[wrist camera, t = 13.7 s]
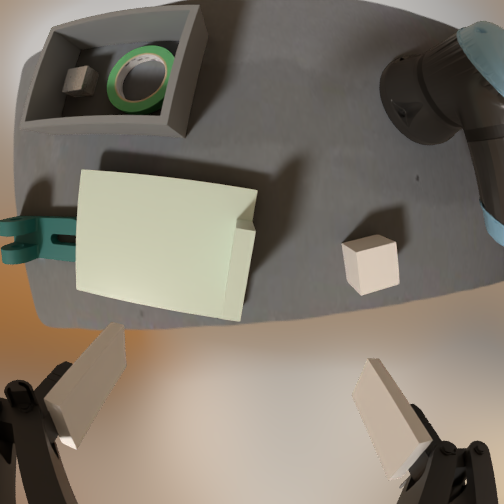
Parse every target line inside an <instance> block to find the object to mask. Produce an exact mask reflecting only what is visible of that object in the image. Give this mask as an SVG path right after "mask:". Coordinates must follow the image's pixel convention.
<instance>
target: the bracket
mask: <svg viewBox="0 0 504 504" xmlns="http://www.w3.org/2000/svg"><path fill="white" fill-rule="evenodd" d="M76 226H77V217H55V216H17V217H12V218H7V219H3V220H0V236H7V237H8V236H14V242H13V243H10V244H7V245H5V246H3V247H1V253H2V261H3V263H5V264H21V263H26V262H29V261H31V260H34V259H36V258H46V259H54V260H62V261H70V262H76V243H69V242H60V241H59V240H58V238H57V235H58V234H63V235H75V236H76Z"/></svg>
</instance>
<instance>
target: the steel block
mask: <svg viewBox="0 0 504 504" xmlns="http://www.w3.org/2000/svg"><path fill="white" fill-rule="evenodd" d="M98 76H99V73H98V72H96V71H95V70H94V69H92V68H91V67H89V66H83V67H77V68H72V69H68V72H67V75H66V79H65V82H64V86H63V90H62V92H63V93H65V94H68V95H70V96H72V97H74V98H75V97H84V96H93V95H94V91H95V87H96V83H97V80H98Z"/></svg>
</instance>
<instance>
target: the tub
mask: <svg viewBox="0 0 504 504" xmlns="http://www.w3.org/2000/svg"><path fill="white" fill-rule="evenodd" d="M208 37H209V35H208V32H207V28H206V25H205V21H204V18H203V14H202V11H201V7H200V5H169V6H155V7H145V8H136V9H129V10H122V11H116V12H110V13H105V14H101V15H95V16H91V17H87V18H82V19H79V20H75V21H71V22H68V23H65V24H61V25H57V26H54V27H52V28H51V30H50V33H49V35H48V37H47V40H46V42H45V44H44V47H43V49H42V52H41V55H40V57H39V60H38V63H37V66H36V69H35V72H34V75H33V78H32V81H31V84H30V88H29V91H28V95H27V98H26V102H25V106H24V110H23V114H22V119H21V124H20V128H19V129H22V130H28V131H33V132H39V133H44V134H50V135H73V134H121V135H146V136H162V137H175V138H185V136H186V131H187V126H188V121H189V116H190V111H191V106H192V101H193V97H194V92H195V88H196V84H197V80H198V75H199V71H200V67H201V63H202V59H203V56H204V52H205V48H206V44H207V41H208ZM151 41H180V42H179V45H178V48H177V51H176V55H175V58H174V62H173V65H172V69H171V73H170V77H169V81H168V84H167V89H166V93H165V97H164V101H163V106H162V110H161V115H160V116H148V115H97V116H76V117H63V118H61V116H62V112H63V107H64V103H65V99H66V96H67V94H65V93H63V92H62V90H63V86H64V82H65V79H66V75H67V72H68V69H72V68H75V65H76V62H77V60H78V57H79V54H80V51H81V50H83V49H89V48H95V47H101V46H108V45H116V44H125V43H136V42H151Z"/></svg>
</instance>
